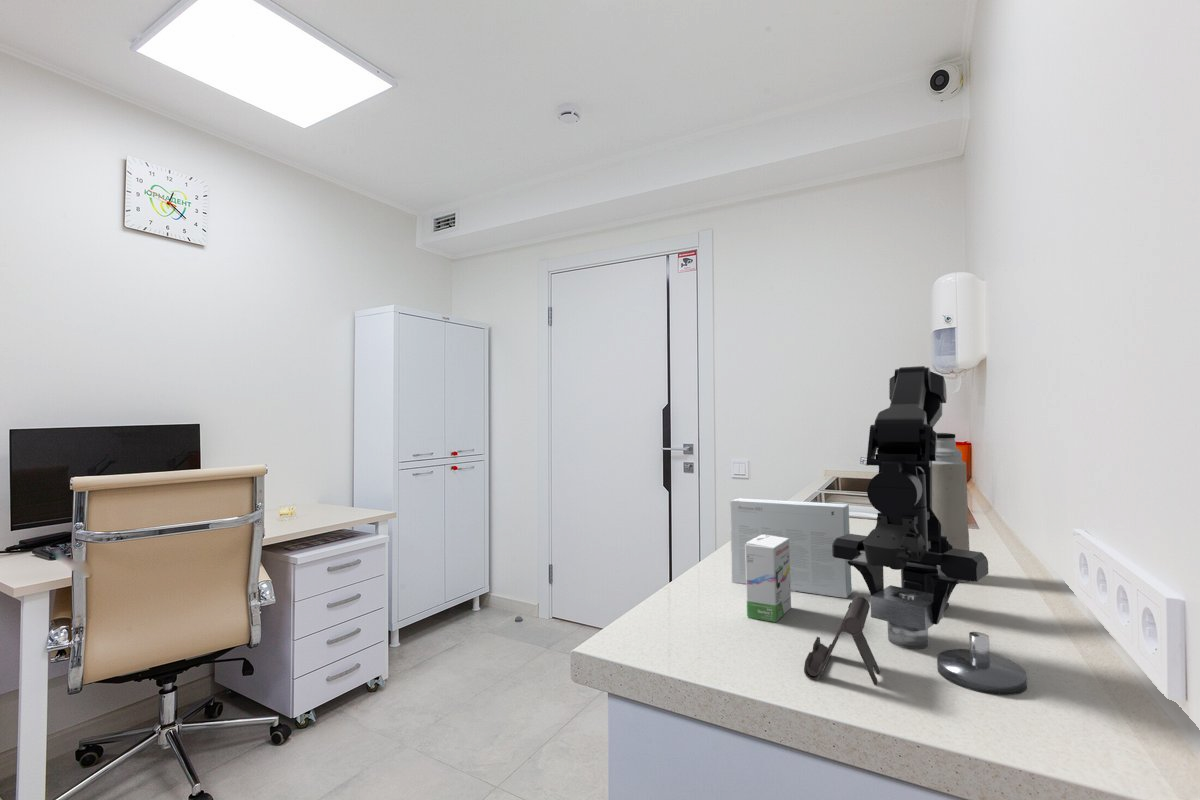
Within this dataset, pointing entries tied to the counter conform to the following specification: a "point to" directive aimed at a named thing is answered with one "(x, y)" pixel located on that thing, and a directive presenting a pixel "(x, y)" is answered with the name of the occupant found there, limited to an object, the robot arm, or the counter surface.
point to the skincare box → (795, 541)
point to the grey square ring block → (903, 607)
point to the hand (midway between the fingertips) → (907, 616)
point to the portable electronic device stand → (850, 625)
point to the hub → (981, 668)
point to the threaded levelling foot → (907, 633)
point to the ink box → (768, 577)
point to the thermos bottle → (950, 491)
